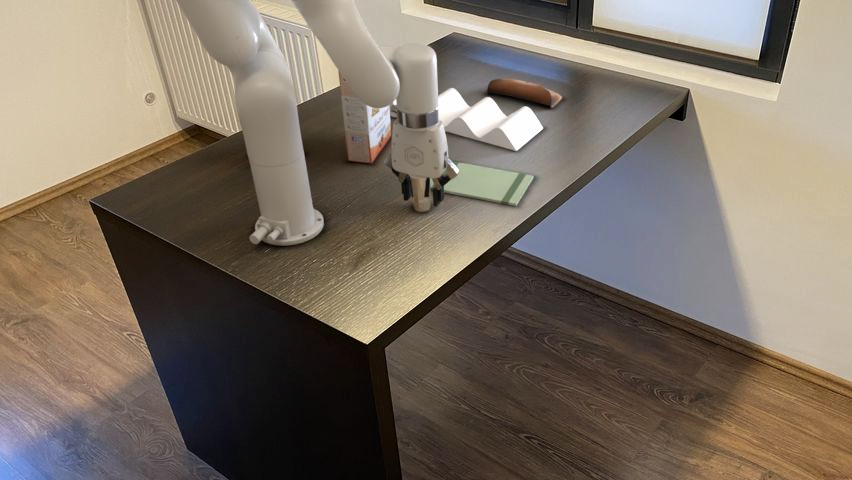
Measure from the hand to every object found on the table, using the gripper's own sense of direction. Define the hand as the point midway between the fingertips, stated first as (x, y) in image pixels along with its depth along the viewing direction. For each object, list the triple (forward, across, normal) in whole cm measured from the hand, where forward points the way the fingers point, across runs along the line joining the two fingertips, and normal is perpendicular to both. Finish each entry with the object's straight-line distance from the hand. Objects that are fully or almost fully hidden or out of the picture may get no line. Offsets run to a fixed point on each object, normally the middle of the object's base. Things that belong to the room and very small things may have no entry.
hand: (423, 199), depth 147 cm
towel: (+2, +7, +13) cm, 15 cm away
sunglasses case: (+2, +3, +58) cm, 58 cm away
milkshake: (+2, 0, 0) cm, 2 cm away
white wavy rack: (+2, -6, +39) cm, 40 cm away
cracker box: (+2, -21, +19) cm, 28 cm away
